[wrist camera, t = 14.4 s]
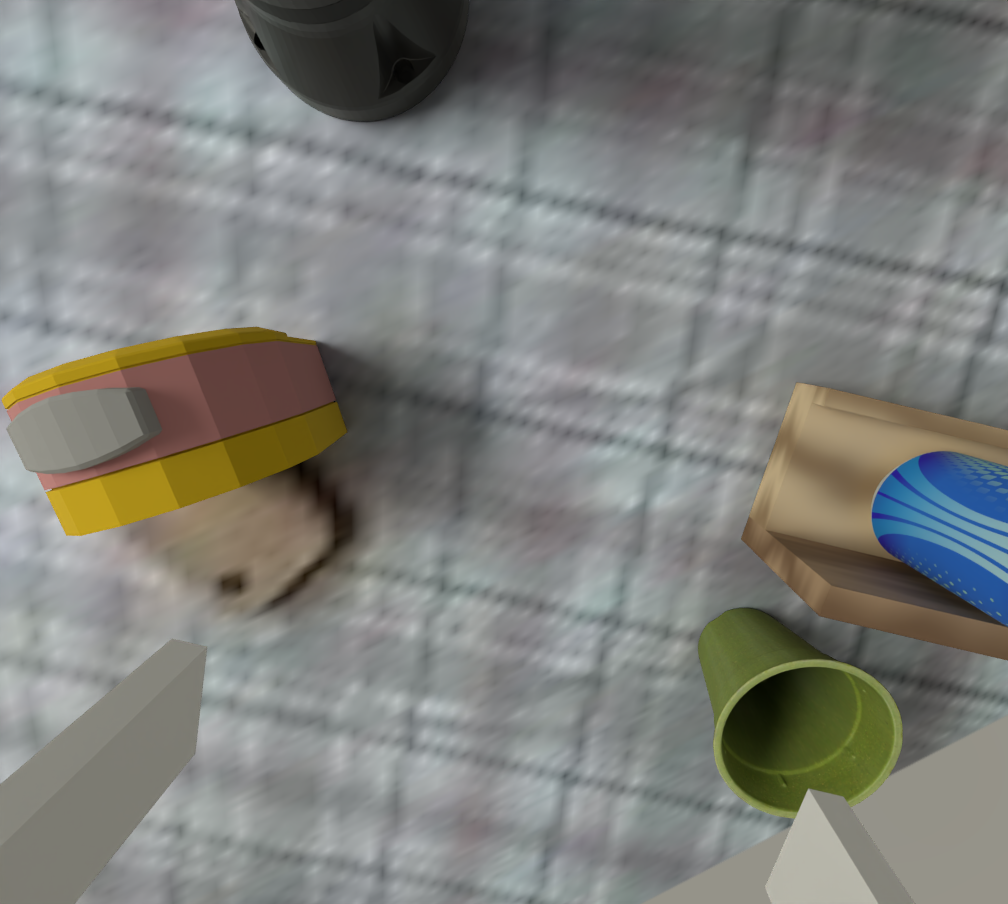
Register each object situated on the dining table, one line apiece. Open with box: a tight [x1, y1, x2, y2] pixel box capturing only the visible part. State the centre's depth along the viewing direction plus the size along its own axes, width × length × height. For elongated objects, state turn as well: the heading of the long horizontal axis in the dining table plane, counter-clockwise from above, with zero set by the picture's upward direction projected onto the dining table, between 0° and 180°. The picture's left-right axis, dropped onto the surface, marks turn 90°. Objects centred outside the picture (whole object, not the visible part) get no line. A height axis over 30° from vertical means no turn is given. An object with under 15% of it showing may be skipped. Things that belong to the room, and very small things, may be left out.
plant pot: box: [698, 608, 903, 818], centre depth 39 cm, size 12×12×11 cm
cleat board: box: [741, 383, 1008, 660], centre depth 36 cm, size 13×20×12 cm, turn 77°
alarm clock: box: [2, 327, 347, 536], centre depth 34 cm, size 15×8×18 cm, turn 106°
